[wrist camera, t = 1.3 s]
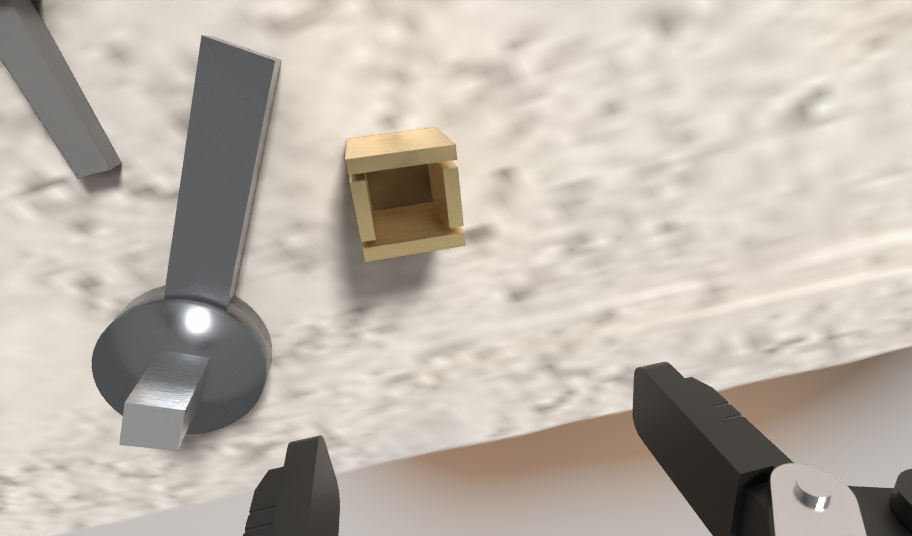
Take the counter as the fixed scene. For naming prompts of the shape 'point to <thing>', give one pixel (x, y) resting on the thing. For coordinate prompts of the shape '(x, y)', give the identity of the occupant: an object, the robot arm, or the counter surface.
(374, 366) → the counter surface
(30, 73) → the door handle
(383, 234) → the brass cube frame
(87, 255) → the counter surface
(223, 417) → the ratchet
